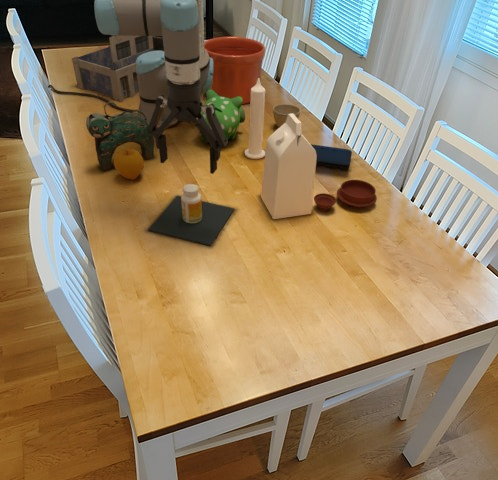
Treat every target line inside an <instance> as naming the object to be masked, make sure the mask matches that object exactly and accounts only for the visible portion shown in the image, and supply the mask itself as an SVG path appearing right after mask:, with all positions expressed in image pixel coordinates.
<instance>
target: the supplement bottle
mask: <svg viewBox="0 0 498 480" xmlns="http://www.w3.org/2000/svg"><path fill="white" fill-rule="evenodd" d="M180 196H181V203H182V215H183V220H184V221H185V222H187V223H197V222H199V221H201V219H202V195H201V193H200V192H199V187H198V185H197V184H194V183H189V184H188V183H187V184H185V185H183V187H182V194H181V195H180Z"/></svg>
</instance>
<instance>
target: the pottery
mask: <svg viewBox="0 0 498 480" xmlns="http://www.w3.org/2000/svg"><path fill="white" fill-rule="evenodd" d="M376 191H377V190H376V187H375V186H374V185H373V184H371V183H370V182H367V181H365V180H361V179H348V180H345V181H343V182H342V183H341V184H340V187H339V188H338V189H337V190H336V197H337V198H338V199H339V201H341V202H342V203H344V204H346V205H348V206H351V207H354V208H355V207H356V208H363V207H364V208H366V207H370V206H372V205H374V204H375V203H376V202H377V199H378V197H377V194H376ZM336 197H335V196H334V195H332V194H329V193H325V192H324V193H318V194H315V196H313V201H314V203H315V204H316V206H317V207H318V210H319V211H322V212H327V211H329V209H330V208H332V207H333V206H334V205H335V204H336V203H337V198H336Z"/></svg>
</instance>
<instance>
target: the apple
mask: <svg viewBox="0 0 498 480" xmlns="http://www.w3.org/2000/svg"><path fill="white" fill-rule="evenodd" d="M113 166H114V168H115V170H116V171H117V172H118V173H119V174H120V175H121V176H122V177H123V178H125V179H127V180H131V181H132V180H135V179H137V178H138V177H139V176H140V174H141V173H142V171H143V169H144V167H145V161H144V157H143V156H142V153H140V152H139V151H138V150H137V149H134V148H123V149H121V150H119V151H118V152H116V154H115V155H114V158H113Z"/></svg>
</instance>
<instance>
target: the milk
mask: <svg viewBox="0 0 498 480" xmlns="http://www.w3.org/2000/svg"><path fill="white" fill-rule="evenodd" d="M265 143H266V144H265V156H264V162H263V171H262V178H261V180H262V181H261V189H260V198H261V200H262V202H263V204H264V206H265V207H266V209H267V211H268V212H269V215H270V216H271V218H272V219H273V220H277V219H284V218H291V217H299V216H305V215H311V214H312V211H313V201H314V188H315V179H316V168H317V165H316V159H317V154H316V151H315V149H314V148H313V147H312V146H311V144H312V143H310V141H308V140H307V138H306V137H305V135H303V133H302V122H301V120H299V117H298V118H297V117H296V116H295V115H294V114H293V113H292V114H288V116H287V119H286V123H284V124H283V125H282V126H281V127H280V128H278V127H277V129H276V130H275V131H274V132H272V133H271V134H270V135H269V137H268V138H267V140H266V142H265Z"/></svg>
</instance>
